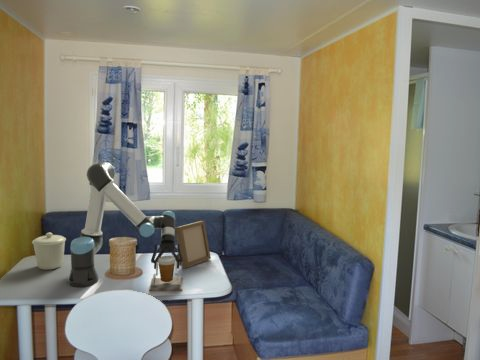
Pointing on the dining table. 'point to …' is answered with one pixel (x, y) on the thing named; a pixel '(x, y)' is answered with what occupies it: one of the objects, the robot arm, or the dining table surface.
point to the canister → (49, 251)
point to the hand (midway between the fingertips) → (166, 274)
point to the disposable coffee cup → (166, 268)
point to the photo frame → (193, 243)
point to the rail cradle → (166, 284)
